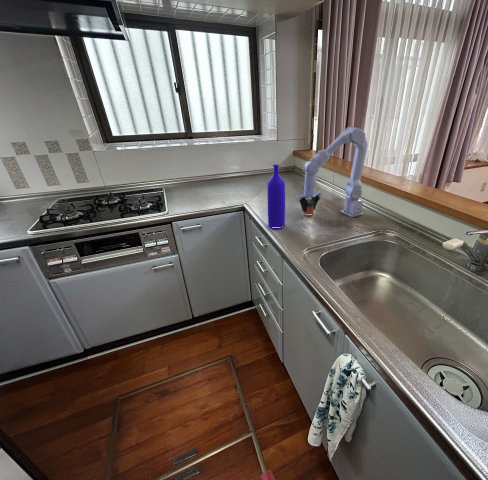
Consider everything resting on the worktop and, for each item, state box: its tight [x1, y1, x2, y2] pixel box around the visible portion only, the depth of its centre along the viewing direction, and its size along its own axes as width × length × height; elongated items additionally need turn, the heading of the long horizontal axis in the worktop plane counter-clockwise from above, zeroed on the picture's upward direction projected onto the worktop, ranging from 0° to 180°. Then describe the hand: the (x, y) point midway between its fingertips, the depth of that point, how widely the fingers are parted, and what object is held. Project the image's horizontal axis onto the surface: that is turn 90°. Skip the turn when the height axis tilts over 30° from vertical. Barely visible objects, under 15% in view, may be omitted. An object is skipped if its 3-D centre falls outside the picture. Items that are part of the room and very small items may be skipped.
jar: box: [303, 206, 315, 218], centre depth 142 cm, size 5×5×8 cm
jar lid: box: [305, 198, 315, 206], centre depth 140 cm, size 6×6×2 cm
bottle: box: [266, 163, 286, 231], centre depth 124 cm, size 8×8×30 cm
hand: (308, 210), depth 142 cm, fingers closed on jar lid, 5 cm apart
